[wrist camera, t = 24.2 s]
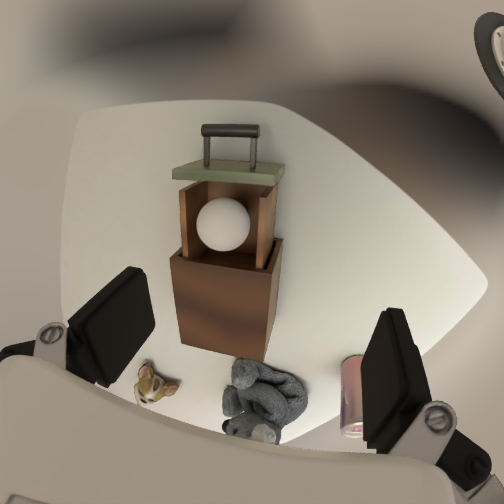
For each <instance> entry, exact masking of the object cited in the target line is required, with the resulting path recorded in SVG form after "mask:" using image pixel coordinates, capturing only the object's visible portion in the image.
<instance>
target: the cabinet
mask: <svg viewBox="0 0 504 504" xmlns="http://www.w3.org/2000/svg"><path fill="white" fill-rule="evenodd" d="M282 249H283V239H278V238H273V249H272V256H271V259H270V262H269V264H268V267H267V270H263V269H256V268H250V267H243V266H236V265H230V264H223V263H217V262H210V261H204V260H198V259H191V258H185V257H183V252H182V247H181V248H180V249H179V250H178V251H176V252H175V253H174V254H173V256H171V257H170V267H171V276H172V284H173V292H174V299H175V306H176V313H177V320H178V326H179V332H180V338H181V343H182V344H185V345H189V346H193V347H197V348H201V349H205V350H209V351H213V352H218V353H222V354H227V355H231V356H236V357H241V358H246V359H251V360H256V361H261V362H263V361H264V357H265V354H266V350H267V347H268V343H269V339H270V336H271V332H272V328H273V324H274V320H275V314H276V305H277V296H278V287H279V278H280V269H281V259H282Z"/></svg>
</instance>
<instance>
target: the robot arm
mask: <svg viewBox="0 0 504 504" xmlns="http://www.w3.org/2000/svg"><path fill="white" fill-rule="evenodd" d="M491 44H492V50H493V54H494V57H495V60H496V63H497V65H498V67H499V69H500V71H501V73H502V75H503V76H504V26H501V27H498V28H496V29H495V30H494V31H493V33H492V37H491ZM68 324H69V327H68V328H66V326H65V325H64V324H63V323H60V322H53V323H49V324H47V325H45V326H44V327H42V328H41V329H40V331H39V332H38V334H37V337H36V340H33V341H28V342H24V343H19V344H14V345H10V346H7V347H5V348H3V349H2V351H1V352H0V504H504V487H503V485H502V484H501V482H500V481H499V479H498V478H497V476H496V475H495V474H493V475H491V474H490V472H491V467H492V463H491V458H490V456H489V454H488V453H487V452H486V451H485V450H483V449H482V448H481V447H479V446H478V445H477V444H475V443H474V442H472V441H471V440H470V439H469V438H467V437H466V436H465V435H463V434H462V433H461V432H459V431H458V430H457V429H455V428H456V425H457V417H456V413H455V411H454V410H453V408H452V407H451V406H450V405H448V404H447V403H445V402H443V401H432V398H431V394H430V389H429V386H428V381H427V378H426V374H425V370H424V367H423V363H422V359H421V356H420V352H419V349H418V347H417V346H416V345H415V344H414V342H413V339H412V335H411V332H410V329H409V326H408V323H407V320H406V317H405V314H404V311H403V309H399V308H387V309H386V311H382V312H381V314H380V317H379V320H378V322H377V325H376V327H375V330H374V333H373V335H372V337H371V340H370V342H369V345H368V347H367V349H366V352H365V354H364V356H363V359H362V361H361V367H360V371H361V387H362V411H363V440H364V441H367V449H376V450H377V454H372V453H350V452H334V451H322V450H312V449H303V448H295V447H288V446H281V445H275V444H269V443H263V442H258V441H253V440H248V439H243V438H239V437H235V436H231V435H226V434H222V433H219V432H215V431H211V430H208V429H204V428H201V427H197V426H194V425H191V424H188V423H185V422H181V421H178V420H176V419H173V418H170V417H167V416H164V415H161V414H159V413H156V412H154V411H151V410H148V409H146V408H143V407H141V406H139V405H136V404H134V403H131V402H129V401H127V400H125V399H122V398H120V397H118V396H116V395H114V394H111V393H109V392H107V391H105V390H103V389H101V388H99V387H97V386H95V385H94V384H95V382H96V381H97V383H98V384H99V385H101V386H103V387H105V388H107V389H108V387H109V386H110V384H111V383H114V382H116V380H117V379H118V378H119V376H120V375H121V373H122V372H123V371H124V369H125V368H126V367H127V365H128V364H129V362H130V361H131V360H132V358H133V357H134V356H135V354H136V353H137V352H138V350H139V349H140V348H141V346H142V345H143V344H144V342H145V341H146V340H147V338H148V337H149V336H150V334H151V333H152V332H153V330H154V328H155V319H154V314H153V309H152V304H151V299H150V294H149V289H148V283H147V277H146V274H145V273H144V272H143V270H142V269H141V268H136V267H131V266H129V267H127V268H126V269H125V270H123V271H122V272H121V273H120V274H119V275H118V276H116V277H115V278H114V279H113V280H112V281H111V282H109V283H108V284H107V285H106V286H105V287H104V288H103V289H101V290H100V291H99V292H98V293H97V294H96V295H95V296H94V297H92V298H91V299H90V300H89V301H88V302H87V303H86V304H85V305H84V306H83V307H82V308H80V309H79V310H78V311H77V312H76V313H75V314H74V315H73V316H72V317H71V318H70V319H69V320H68Z"/></svg>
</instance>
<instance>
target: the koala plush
mask: <svg viewBox="0 0 504 504" xmlns="http://www.w3.org/2000/svg"><path fill="white" fill-rule="evenodd" d="M232 383H233V386H235V387H232V388H227V389H225V390H224V393H223V403H222V407H223V414H224V415H225V416H227V417H233V418H231V419H228V420H225V421H224V422H223V424H222V430H223V431H224V432H225V433H226V435H231V436H235V437H239V438H243V439H248V440H253V441H258V442H263V443H269V444H275V445H279V441H280V439H281V430H282V428H283V427H284V426H285V425H288V424H289V423H291V422H292V421H294V420H295V419H297V418H298V417H299V416H300V415H301V414H302V413H303V412H304V411H305V409H306V407H307V404H308V397H307V394H306V392H305V390H304V387H303V386H302V385H301V383H300V382H298V381H297V380H296V379H295V378H294V377H293V376H291V375H290V374H288V373H281V372H276V371H273V370H272V369H271V368H268V367H267V366H265V365H264V364H262V363H260V362H257V361H254V360H250V359H242V360H241V359H239V360H237V361H235V363H234V364H233V366H232ZM243 410H244V412H243ZM241 412H243V413H241ZM240 413H241V414H240Z"/></svg>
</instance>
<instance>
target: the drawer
mask: <svg viewBox="0 0 504 504" xmlns="http://www.w3.org/2000/svg"><path fill="white" fill-rule="evenodd" d="M201 134H202V136H203V137H204V160H198V161H195V162H192V163H189V164H186V165H183V166H180V167H177V168H174V169H172V179H176V180H199V181H197V182H195V183H193V184H191V185H189V186H187V187H185V188H183V189H181V190H179V202H180V222H181V238H182V252H183V257H185V258H191V259H198V260H204V261H210V262H217V263H223V264H230V265H236V266H243V267H250V268H256V269H263V270H267V267H268V264H269V262H270V259H271V256H272V249H273V236H274V223H275V210H276V196H277V182H278V180H279V179H280V178H281V176H282V175H283V174H284V165H283V164H272V163H260V162H256V156H257V138H259V136H260V126H259V125H251V124H203V125H202V127H201ZM210 137H247V138H251V150H250V162H246V161H228V160H210ZM217 198H231V199H236V198H240V199H243V200H244V201H245V202H246V203H247V205H248V215H249V218H250V230H249V234H248V236H247V238H246V239H245V241H244V242H243V243H242V244H241V245H240V246H238V247H237V248H235V249H233V250H229V251H217V250H214V249H212V248H210V247H208V246H207V245H206V244H204V242H203V241H202V240H201V239H200V237H199V235H198V232H197V218H198V215H199V212H200V211H201V209H202V208H203V207H204V206H205V205H206V204H207V203H208V202H210V201H211V200H214V199H217Z"/></svg>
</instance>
